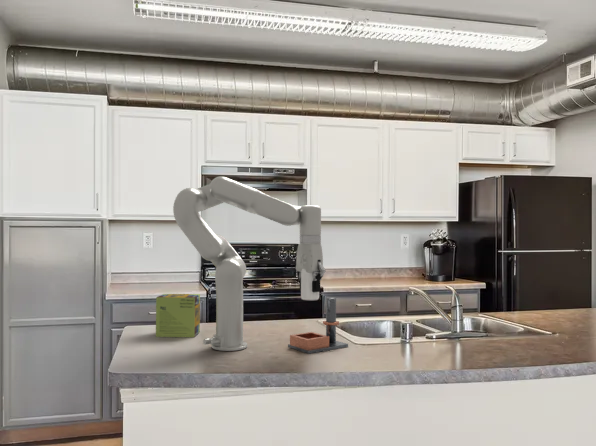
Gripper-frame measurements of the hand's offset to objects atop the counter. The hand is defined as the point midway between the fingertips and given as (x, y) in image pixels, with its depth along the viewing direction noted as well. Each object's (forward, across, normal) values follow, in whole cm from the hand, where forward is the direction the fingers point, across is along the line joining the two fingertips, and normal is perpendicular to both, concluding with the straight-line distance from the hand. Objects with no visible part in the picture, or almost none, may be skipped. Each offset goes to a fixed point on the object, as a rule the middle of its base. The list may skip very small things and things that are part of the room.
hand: (309, 290), depth 195 cm
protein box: (+21, -49, -27) cm, 60 cm away
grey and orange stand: (+21, 0, +4) cm, 21 cm away
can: (+3, 0, 0) cm, 3 cm away
